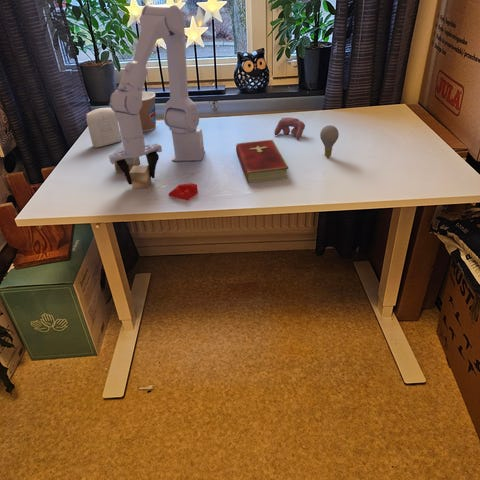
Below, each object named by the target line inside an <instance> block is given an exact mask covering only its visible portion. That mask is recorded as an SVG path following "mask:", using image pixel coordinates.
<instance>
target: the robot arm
mask: <svg viewBox="0 0 480 480" xmlns="http://www.w3.org/2000/svg"><path fill="white" fill-rule="evenodd" d="M139 25H140V28H141V29H140V33H139V37H138V41H137V44H136V47H135V52H134V55H133V59H132V60H131V61H128V62H127V63H126V64H125V66H124V68H123V73H122V76H121V79H120V82H119V84H118V87H117V89H116V90H115V91H113V92H112V93H111V94H110V100H109V104H108V105H109V108H111V109H112V110H113V111H114V112H115V116H116V117H117V120H118V125H119V130H120V135H121V142H122V145H123V147H124V150H122V151H120V152H118V153H115V154H113V153H112V154H109V155H108V159H109V162H110V164H111V165H115V163H117V164H118V166H119V167H120V168H121V170H122V171H123V174H124V177H125V180H126V181H127V183H128V185H131V186H132V181H131V178H130V173H129V165H128V164H127V162H126V161H125V160H127V159H131V158H135V157H139V158H140V157H142V156H145V158H146V161H147V165H149V170H150V176H151V179H155V177H156V176H155V175H156V167H157V165H158V164H157V163H158V162H159V160H160V157H159V154H158V153H162V152H163V149H162V148H163V147H162V145H161V144H160V143H158V142H157V143H153V144H152V143H151V144H146V143H145V138H144V131H142V127H141V121H140V116H139V111H140V109H141V107H142V92H143V89H144V85H145V82H146V79H147V76H148V73H149V71H148V69H147V67H146V66H147V64H148V61H149V59H150V57H151V55H152V52H153V50H154V48H155V45H156V43H157V41H158V40H161V39H162V40H163V41H164V42H165V48H166V60H167V73H168V83H169V84H168V85H169V86H168V87H169V97H170V98H169V99H168V100H167V102H165V103H164V113H163V121H164V124H165V126H167V127H168V129H169V131H171V137H172V144H173V150H174V151H173V152H174V153H173V156H172V159H171V161H172V162H178V161H179V162H180V161H181V162H182V161H184V162H185V161H202V160H203V156H204V153H205V146H204V136H203V130H202V129H201V128H198V126H199V124H200V116H199V112H198V109H197V108H198V107H197V104H196V103H195V102H194V101H193V100H192V99H191V98H190V97H189V86H188V85H189V84H188V72H187V71H188V70H187V69H188V68H187V67H188V66H187V56H186V55H187V52H186V34H185V33H186V31H185V16H184V12H183V11H182V10H181V9H180V7H179V6H178V5H176V4H171V5H166V4H163V5H162V4H161V5H160V4H151V3H150V4H149V3H148V4H145V5H144V6H143V8H142V9H141V15H140V17H139Z"/></svg>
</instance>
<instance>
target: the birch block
mask: <svg viewBox="0 0 480 480" xmlns="http://www.w3.org/2000/svg"><path fill="white" fill-rule="evenodd" d="M129 173H130V178H131V181H132V184H131V187H132V189H149V188H150V185H151V183H152V177H151V176H150V170H149V165H148V164H147V165H140V166H133V167H132V169H131V171H130V172H129Z"/></svg>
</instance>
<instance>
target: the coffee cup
mask: <svg viewBox="0 0 480 480" xmlns="http://www.w3.org/2000/svg"><path fill="white" fill-rule="evenodd" d="M141 92H142V107H141V109H140V111H139V116H140V121H141V127H142V132H148V131H152V130H155V128H156V127H157V126H156V124H157V117H156V114H157V113H156V101H155V100H156V93H155V92H153V91H141Z"/></svg>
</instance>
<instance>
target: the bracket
mask: <svg viewBox="0 0 480 480" xmlns="http://www.w3.org/2000/svg"><path fill="white" fill-rule="evenodd" d="M198 194H199V191H198V184H196V183H184V184H178V185H176V187H175V188H174V189H172V190H171V191H170V192H168V196H169V197H172V198H176V199H180V200H181V201H182V200H183V201H187V202H188V201H190V200H191V199H192V198H193V197H195V196H196V195H198Z"/></svg>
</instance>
